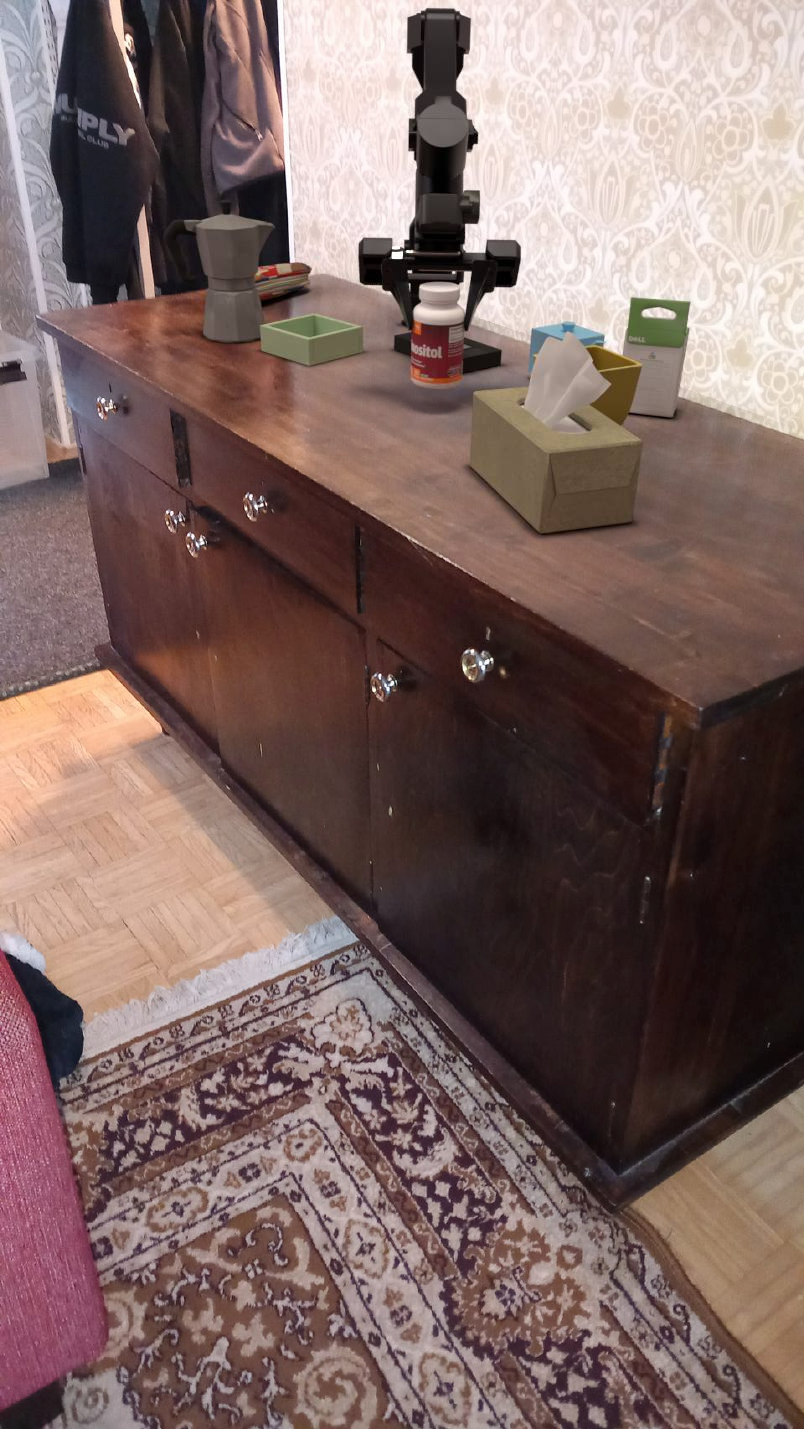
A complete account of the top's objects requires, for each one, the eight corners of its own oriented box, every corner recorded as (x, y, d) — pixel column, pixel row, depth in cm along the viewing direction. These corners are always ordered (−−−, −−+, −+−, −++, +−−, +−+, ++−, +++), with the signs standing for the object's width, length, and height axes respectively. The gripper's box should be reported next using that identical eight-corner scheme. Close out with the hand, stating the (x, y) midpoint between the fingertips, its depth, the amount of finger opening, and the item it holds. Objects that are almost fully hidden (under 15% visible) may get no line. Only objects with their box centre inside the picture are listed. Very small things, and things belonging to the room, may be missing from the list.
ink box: (676, 409, 131) (695, 294, 123) (672, 419, 127) (691, 302, 120) (620, 402, 132) (634, 289, 125) (614, 412, 129) (629, 296, 122)
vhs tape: (435, 341, 155) (435, 327, 154) (501, 365, 145) (502, 350, 144) (394, 349, 151) (394, 335, 150) (459, 374, 141) (460, 359, 140)
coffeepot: (276, 324, 161) (269, 193, 151) (284, 341, 154) (277, 204, 144) (172, 329, 158) (158, 195, 148) (175, 346, 151) (161, 206, 141)
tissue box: (634, 524, 102) (659, 355, 93) (540, 536, 99) (556, 363, 90) (551, 456, 117) (565, 305, 108) (467, 465, 114) (475, 311, 105)
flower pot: (568, 457, 116) (577, 374, 111) (524, 432, 123) (531, 352, 118) (633, 445, 120) (644, 364, 115) (587, 421, 126) (596, 344, 121)
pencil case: (198, 301, 173) (195, 268, 170) (293, 284, 184) (292, 253, 181) (238, 314, 166) (235, 280, 164) (334, 295, 178) (334, 263, 175)
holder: (315, 337, 156) (314, 312, 154) (363, 351, 150) (363, 326, 148) (261, 350, 149) (259, 325, 148) (309, 366, 144) (308, 339, 142)
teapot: (616, 392, 136) (624, 331, 132) (580, 400, 133) (587, 338, 129) (555, 369, 144) (561, 311, 140) (520, 375, 141) (524, 316, 137)
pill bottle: (399, 382, 128) (401, 286, 122) (432, 371, 132) (435, 277, 126) (440, 393, 125) (443, 295, 119) (472, 381, 129) (477, 285, 122)
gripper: (358, 159, 118) (355, 287, 116) (526, 162, 118) (527, 290, 116) (361, 222, 129) (358, 341, 126) (515, 225, 129) (515, 344, 127)
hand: (438, 328), depth 124 cm, fingers closed on pill bottle, 6 cm apart
